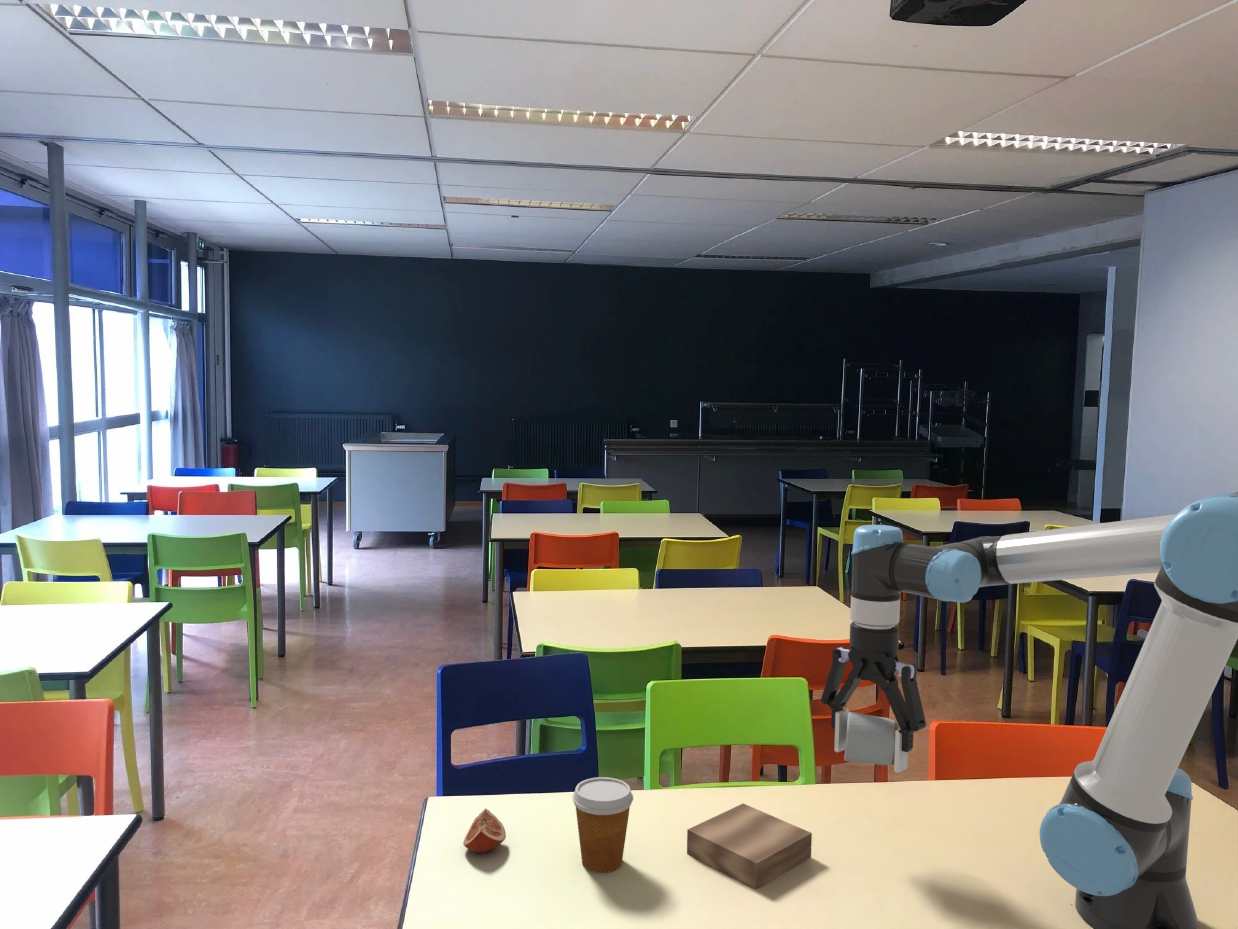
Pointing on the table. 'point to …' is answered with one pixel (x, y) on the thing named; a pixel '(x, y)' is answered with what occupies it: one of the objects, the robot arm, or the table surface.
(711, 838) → the block
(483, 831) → the fruit slice
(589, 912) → the table surface
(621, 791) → the disposable coffee cup
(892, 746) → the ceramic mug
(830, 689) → the robot arm
